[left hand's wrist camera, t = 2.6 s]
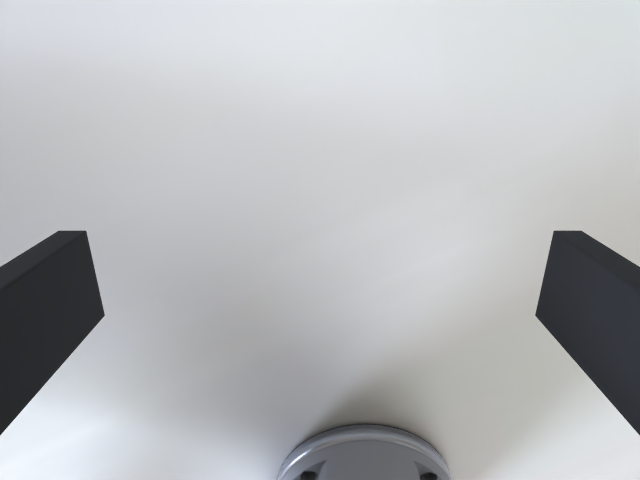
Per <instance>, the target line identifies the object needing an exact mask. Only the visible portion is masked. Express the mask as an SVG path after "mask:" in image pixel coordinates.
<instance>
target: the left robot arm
mask: <svg viewBox="0 0 640 480" xmlns="http://www.w3.org/2000/svg"><path fill="white" fill-rule="evenodd" d="M104 316H105V315H104V310H103V306H102V301H101V297H100V292H99V287H98V283H97V278H96V274H95V269H94V265H93V260H92V256H91V251H90V246H89V242H88V237H87V233H86V231H58V232H56V233H54V234H53V235H51V236H50V237H48V238H46V239H45V240H43V241H42V242H40V243H38V244H37V245H35V246H34V247H32V248H30V249H29V250H27V251H26V252H24V253H22V254H21V255H19V256H17V257H16V258H14V259H13V260H11V261H9V262H8V263H6V264H5V265H3V266H1V267H0V435H1V434H2V433H3V432H4V430H5V429H6V428H7V427H8V426H9V425H10V423H11V422H12V421H13V420H14V419H15V418H16V417H17V415H18V414H19V413H20V412H21V411H22V410H23V409H24V407H25V406H26V405H27V404H28V403H29V402H30V401H31V399H32V398H33V397H34V396H35V395H36V394H37V393H38V391H39V390H40V389H41V388H42V387H43V386H44V384H45V383H46V382H47V381H48V380H49V379H50V378H51V376H52V375H53V374H54V373H55V372H56V371H57V370H58V368H59V367H60V366H61V365H62V364H63V363H64V362H65V360H66V359H67V358H68V357H69V356H70V355H71V353H72V352H73V351H74V350H75V349H76V348H77V347H78V345H79V344H80V343H81V342H82V341H83V340H84V339H85V337H86V336H87V335H88V334H89V333H90V332H91V331H92V329H93V328H94V327H95V326H96V325H97V324H98V323H99V321H100V320H101V319H102V318H103V317H104ZM535 316H536V317H537V318H538V319H539V320H540V321H541V323H542V324H543V325H544V326H545V327H546V328H547V329H548V331H549V332H550V333H551V334H552V335H553V336H554V337H555V339H556V340H557V341H558V342H559V343H560V344H561V345H562V347H563V348H564V349H565V350H566V351H567V352H568V353H569V355H570V356H571V357H572V358H573V359H574V360H575V362H576V363H577V364H578V365H579V366H580V367H581V368H582V370H583V371H584V372H585V373H586V374H587V375H588V376H589V378H590V379H591V380H592V381H593V382H594V383H595V384H596V386H597V387H598V388H599V389H600V390H601V391H602V393H603V394H604V395H605V396H606V397H607V398H608V399H609V401H610V402H611V403H612V404H613V405H614V406H615V407H616V409H617V410H618V411H619V412H620V413H621V414H622V415H623V417H624V418H625V419H626V420H627V421H628V422H629V423H630V425H631V426H632V427H633V428H634V429H635V430H636V432H637V433H638V434H639V435H640V267H639V266H637V265H635V264H634V263H632V262H631V261H629V260H627V259H626V258H624V257H623V256H621V255H619V254H618V253H616V252H614V251H613V250H611V249H610V248H608V247H606V246H605V245H603V244H602V243H600V242H598V241H597V240H595V239H594V238H592V237H590V236H589V235H587V234H586V233H584V232H582V231H554V233H553V237H552V242H551V246H550V251H549V256H548V260H547V265H546V269H545V274H544V278H543V283H542V287H541V292H540V297H539V301H538V306H537V310H536V315H535ZM277 480H451V478H450V475H449V472H448V468H447V466H446V464H445V462H444V460H443V459H442V457H441V456H440V454H439V453H438V452H437V451H436V450H435V449H434V448H433V447H432V446H431V445H429V444H428V443H427V442H426V441H424V440H422V439H421V438H419V437H417V436H415V435H413V434H411V433H409V432H406V431H403V430H400V429H397V428H393V427H388V426H381V425H351V426H344V427H339V428H335V429H331V430H328V431H326V432H323V433H320V434H318V435H316V436H314V437H312V438H310V439H308V440H307V441H305V442H304V443H302V444H301V445H300V446H298V447H297V448H296V449H295V450H294V451H293V452H292V453H291V454H290V455H289V456H288V457H287V459H286V460H285V461H284V463H283V465H282V466H281V469H280V471H279V474H278V477H277Z"/></svg>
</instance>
